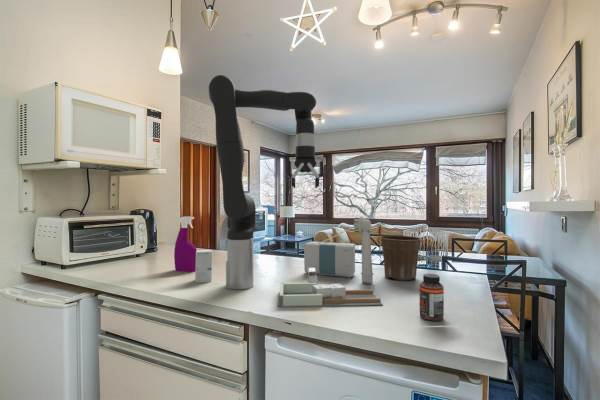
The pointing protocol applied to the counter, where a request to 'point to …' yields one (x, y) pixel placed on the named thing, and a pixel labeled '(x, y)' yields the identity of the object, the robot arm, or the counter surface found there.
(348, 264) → the white striped box
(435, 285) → the supplement bottle
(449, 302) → the counter surface
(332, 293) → the white small cube
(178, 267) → the spray bottle
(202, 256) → the skincare box
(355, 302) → the slot board
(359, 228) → the white hammer
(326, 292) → the white cube
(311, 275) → the scraper
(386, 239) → the plant pot
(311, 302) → the tray
